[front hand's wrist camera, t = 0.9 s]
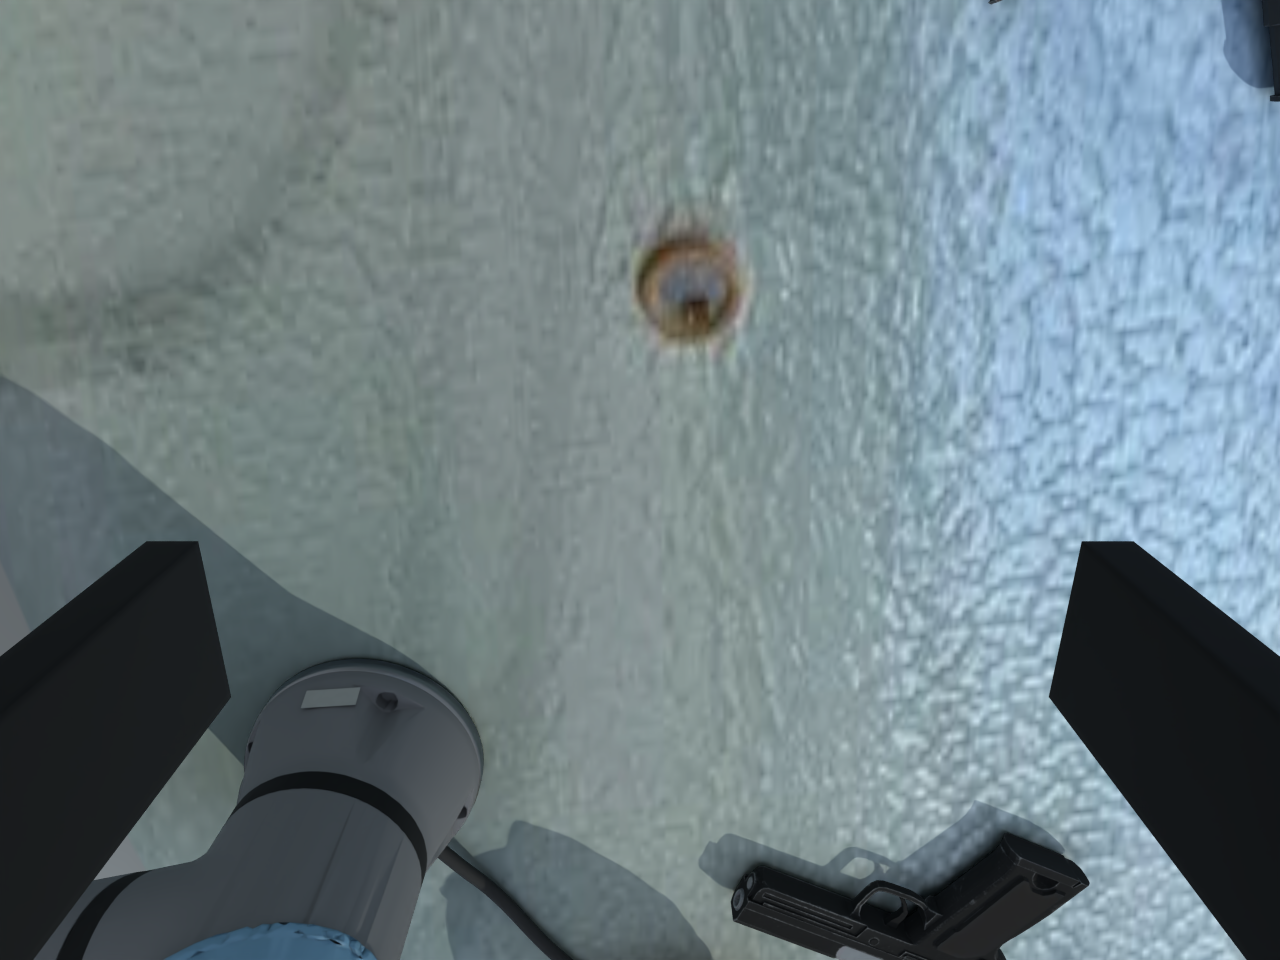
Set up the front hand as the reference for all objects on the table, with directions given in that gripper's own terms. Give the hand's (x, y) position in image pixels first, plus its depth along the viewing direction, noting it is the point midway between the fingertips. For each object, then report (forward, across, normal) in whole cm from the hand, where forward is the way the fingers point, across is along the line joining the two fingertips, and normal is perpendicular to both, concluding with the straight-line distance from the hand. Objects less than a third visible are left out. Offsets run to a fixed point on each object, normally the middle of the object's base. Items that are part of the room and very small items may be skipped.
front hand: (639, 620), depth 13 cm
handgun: (+35, +19, -42) cm, 58 cm away
